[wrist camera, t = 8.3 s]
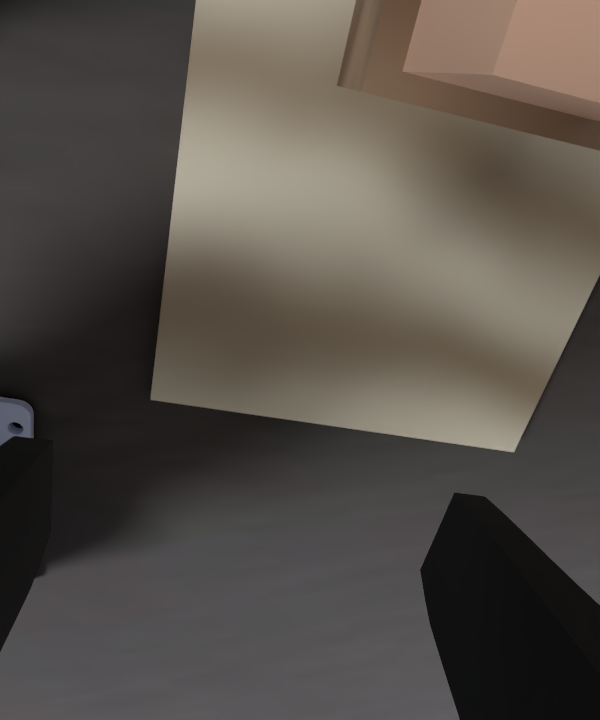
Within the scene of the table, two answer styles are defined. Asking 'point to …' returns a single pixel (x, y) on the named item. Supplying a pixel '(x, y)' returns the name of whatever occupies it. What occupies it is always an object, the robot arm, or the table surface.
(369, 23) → the walnut block
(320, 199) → the birch board
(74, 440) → the table surface
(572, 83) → the clay block
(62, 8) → the table surface
